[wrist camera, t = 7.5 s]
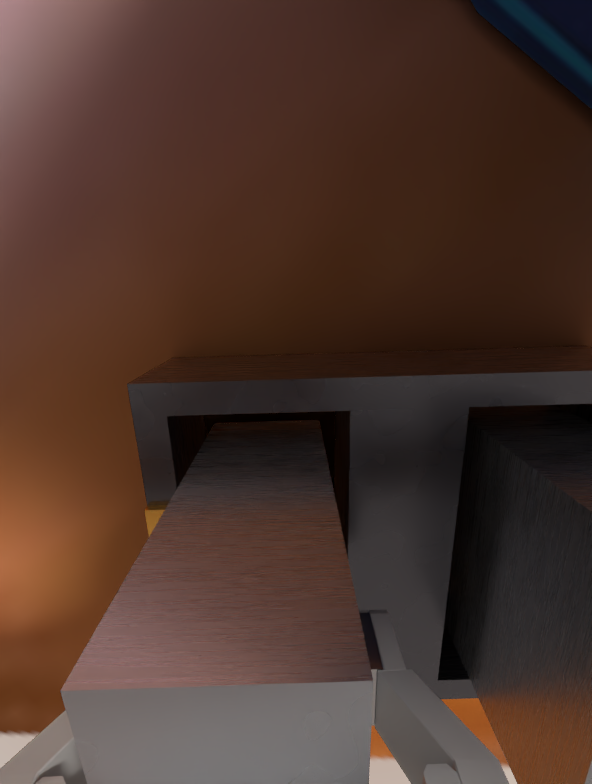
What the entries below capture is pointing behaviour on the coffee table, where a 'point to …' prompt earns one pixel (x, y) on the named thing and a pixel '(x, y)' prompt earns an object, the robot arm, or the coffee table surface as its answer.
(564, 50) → the book
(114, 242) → the coffee table surface
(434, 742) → the robot arm
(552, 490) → the rack
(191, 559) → the block
